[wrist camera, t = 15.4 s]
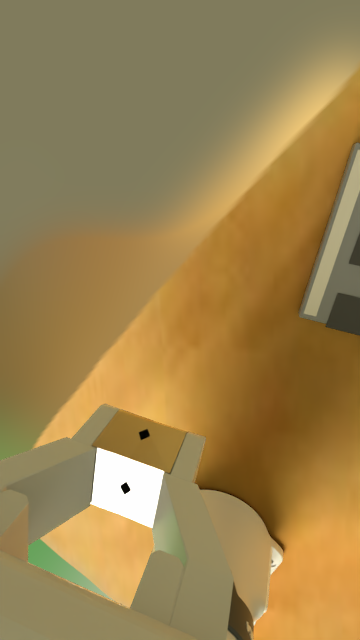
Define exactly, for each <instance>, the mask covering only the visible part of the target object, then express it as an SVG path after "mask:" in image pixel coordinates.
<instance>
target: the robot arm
mask: <svg viewBox="0 0 360 640" xmlns="http://www.w3.org/2000/svg"><path fill="white" fill-rule="evenodd" d="M205 441H206V437H204V436H201V435H198V434H194V433H191V432H186V431H183V430H180V429H177V428H174V427H171V426H168V425H165V424H162V423H159V422H155V421H153V420H150V419H147V418H144V417H142V416H139V415H136V414H133V413H131V412H128V411H125V410H122V409H121V410H120V409H119V408H116V407H113V406H110V405H107V404H103V405H101V406H100V407H99V408H98V409H97V410H96V411H95V413H94V414H93V415H92V416H91V417H90V418H89V419H88V420H87V422H86V423H85V424H84V425H83V426H82V427H81V428H80V430H79V431H78V432H77V433H76V434H75V435H74V436H73V438H72V439H70V438H67V437H66V438H63V439H60V440H57V441H54V442H52V443H49V444H46V445H43V446H40V447H37V448H34V449H32V450H29V451H26V452H23V453H20V454H17V455H15V456H12V457H9V458H6V459H3V460H0V640H254V638H253V629H254V625H255V623H256V620H258V619H259V618H260V617H261V616H262V615H263V613H264V612H266V611H267V607H268V598H269V585H270V575H271V574H272V573H273V572H274V571H275V569H276V568H277V567H278V566H279V565H280V563H281V562H282V561H283V550H282V548H281V547H280V546H279V545H278V544H277V543H276V542H275V541H274V540H273V539H272V538H271V537H270V535H269V533H268V531H267V528H266V526H265V524H264V522H263V521H262V519H261V518H260V516H259V515H258V514H257V513H256V512H255V511H254V510H253V509H252V508H251V507H250V506H249V505H247V504H246V503H244V502H243V501H241V500H240V499H238V498H236V497H234V496H231V495H229V494H226V493H223V492H219V491H214V490H200V489H199V487H198V485H197V484H195V480H196V476H197V472H198V469H199V465H200V461H201V457H202V453H203V449H204V445H205ZM90 504H93V505H96V506H99V507H102V508H104V509H107V510H110V511H113V512H115V513H118V514H121V515H123V516H126V517H128V518H130V519H133V520H135V521H137V522H140V523H142V524H144V525H147V526H149V527H151V528H152V533H153V539H154V547H153V550H152V553H151V555H150V558H149V560H148V563H147V566H146V568H145V571H144V573H143V576H142V578H141V581H140V584H139V586H138V589H137V591H136V594H135V597H134V599H133V602H132V604H131V607H130V608H128V607H126V606H124V605H122V604H119V603H117V602H115V601H113V600H110V599H108V598H106V597H104V596H102V595H99V594H97V593H95V592H93V591H90V590H88V589H86V588H84V587H81V586H79V585H77V584H75V583H73V582H70V581H68V580H66V579H64V578H61V577H59V576H57V575H55V574H52V573H50V572H48V571H46V570H44V569H41V568H39V567H37V566H35V565H32V564H30V563H28V545H30V544H31V543H33V542H34V541H36V540H38V539H39V538H41V537H42V536H44V535H45V534H47V533H48V532H50V531H52V530H53V529H55V528H56V527H58V526H59V525H61V524H62V523H64V522H66V521H67V520H69V519H70V518H72V517H73V516H75V515H76V514H78V513H80V512H81V511H83V510H84V509H86V508H87V507H89V506H90Z"/></svg>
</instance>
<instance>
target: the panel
mask: <svg viewBox="0 0 360 640" xmlns="http://www.w3.org/2000/svg"><path fill="white" fill-rule="evenodd" d="M298 313H299V317H301V318H305V319H309V320H313V321H317V322H321V323H325V324H326V327H328V328H332V329H336V330H340V331H344V332H348V333H352V334H356V335H360V143H355V144H354V145H353V146H352V150H351V153H350V156H349V159H348V162H347V165H346V168H345V171H344V174H343V177H342V180H341V183H340V186H339V189H338V193H337V196H336V199H335V202H334V205H333V208H332V211H331V214H330V217H329V220H328V223H327V226H326V229H325V232H324V236H323V239H322V242H321V245H320V248H319V251H318V254H317V257H316V260H315V263H314V266H313V269H312V272H311V275H310V279H309V282H308V285H307V288H306V291H305V294H304V297H303V300H302V303H301V306H300V309H299V312H298Z"/></svg>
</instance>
